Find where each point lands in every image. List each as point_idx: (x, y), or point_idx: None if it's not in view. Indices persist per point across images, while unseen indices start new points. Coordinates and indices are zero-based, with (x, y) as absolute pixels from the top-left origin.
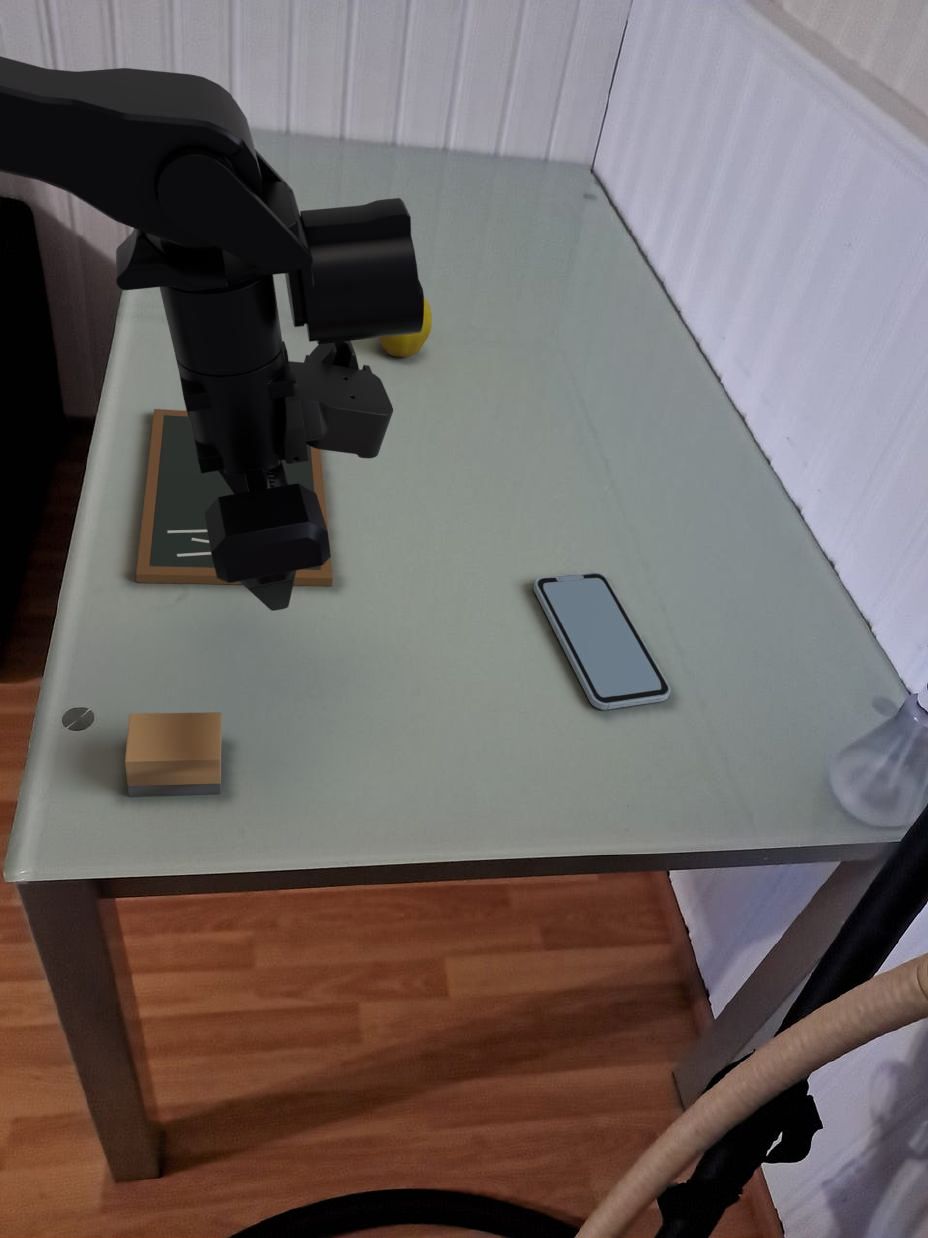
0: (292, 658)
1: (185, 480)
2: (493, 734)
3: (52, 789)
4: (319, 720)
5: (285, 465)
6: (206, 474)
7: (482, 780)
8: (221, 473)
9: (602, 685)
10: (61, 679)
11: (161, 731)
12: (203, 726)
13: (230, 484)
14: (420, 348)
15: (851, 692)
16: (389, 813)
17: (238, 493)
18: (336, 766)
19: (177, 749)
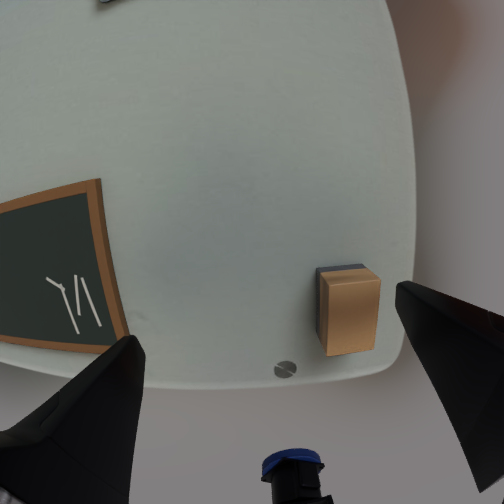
0: (201, 209)
1: (27, 320)
2: (286, 26)
3: (345, 369)
4: (282, 179)
5: None
6: (16, 304)
7: (339, 44)
8: (131, 464)
9: None
10: (247, 385)
11: (347, 330)
12: (344, 298)
13: (133, 435)
14: None
15: None
16: (379, 124)
17: (135, 409)
18: (335, 165)
19: (367, 315)
